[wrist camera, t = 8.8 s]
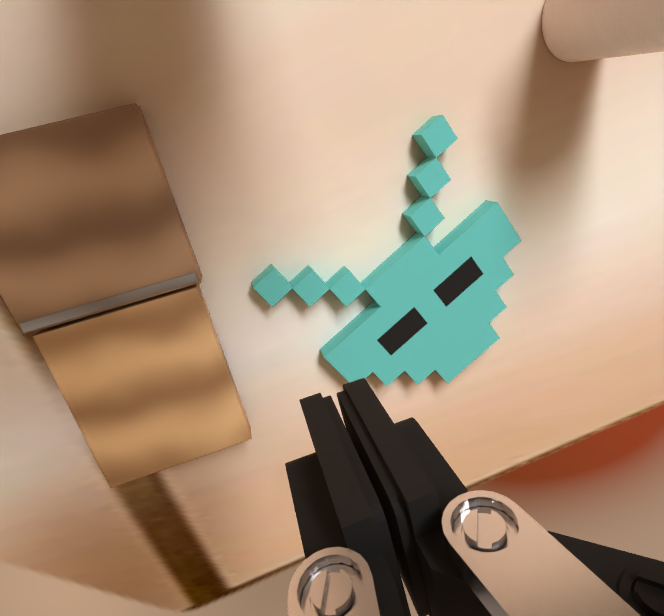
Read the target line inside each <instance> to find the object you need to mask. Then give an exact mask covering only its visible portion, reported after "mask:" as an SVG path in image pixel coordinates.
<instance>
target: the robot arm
mask: <svg viewBox="0 0 664 616" xmlns="http://www.w3.org/2000/svg"><path fill="white" fill-rule="evenodd" d="M343 389H344V391H342V392H339V393H337V397H338V401H339V405H340V408H341V412H342V416H343V419H344V423H345V426H344V423H343V421H342V419H341V417H340V415H339V413H338V410H337V408H336V406H335V404H334V402H333V400H332V397H331V396H327V397H324V398H323V397H322V395H321V393H318V394H315V395H312V396H309V397H306V398H303V399H300V403H301V407H302V410H303V413H304V416H305V419H306V423H307V426H308V429H309V432H310V435H311V438H312V442H313V445H314V448H315V451H316V452H315V453H313V454H310V455H307V456H304V457H302V458H299V459H296V460H293V461H291V462H288V463H285V465H286V471H287V475H288V480H289V484H290V489H291V494H292V498H293V503H294V507H295V512H296V517H297V521H298V526H299V530H300V535H301V540H302V544H303V549H304V553H305V558H306V559H305V560H304V561H303V562H302V564H301V565H300V566H299V567H298V568H297V570H296V571H295V573H294V575H293V578H292V580H291V582H290V586H289V592H288V616H411V614H410V610H409V606H408V603H407V598H406V595H405V591H404V587H403V583H402V579H403V581H404V583H405V586H406V588H407V590H408V592H409V595H410V597H411V600H412V602H413V604H414V606H415V609H416V611H417V613H418V615H419V616H426V615H429V616H664V562H662V561H658V560H655V559H651V558H647V557H643V556H640V555H636V554H632V553H628V552H625V551H621V550H617V549H614V548H610V547H606V546H602V545H598V544H595V543H591V542H588V541H584V540H580V539H576V538H573V537H569V536H565V535H561V534H558V533H554V532H550V531H546V530H545V529H544V528H543V527H542V526H540V525H539V524H538V523H537V522H536V521H535V520H534V519H533V518H531V516H529V515H528V514H527V513H526V512H525V511H524V510H523V509H522V508H521V507H519V506H518V505H517V504H516V503H514V502H513V501H512V500H510V499H509V498H507V497H506V496H503V495H501V494H498V493H495V492H491V491H482V490H479V491H470V492H468V490H467V489H466V488H465V486H464V485H463V484H462V482H461V481H460V479H459V478H458V477H457V475H456V474H455V473H454V471H453V470H452V469H451V467H450V466H449V464H448V463H447V462H446V460H445V459H444V458H443V456H442V455H441V454H440V452H439V451H438V450H437V448H436V447H435V445H434V444H433V443H432V441H431V440H430V439H429V437H428V436H427V435H426V433H425V432H424V431H423V429H422V428H421V426H420V425H419V424H418V422H417V421H416V420H415V419H414V418H412V417H411V418H409V419H406V420H403V421H400V422H398V423H395V424H394V423H393V421H392V420H391V418H390V417H389V415H388V414H387V412H386V411H385V409H384V407H383V406H382V404H381V403H380V401H379V400H378V398H377V397H376V395H375V394H374V392H373V390H372V389H371V387H370V386H369V384H368V383H367V381H366V380H365V378H361V379H358V380H355V381H353V382H350V383H347V384H344V385H343ZM345 427H346V428H345ZM400 574H401V575H400ZM401 577H402V579H401Z"/></svg>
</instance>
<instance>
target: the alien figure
mask: <svg viewBox="0 0 664 616" xmlns="http://www.w3.org/2000/svg"><path fill="white" fill-rule="evenodd" d="M412 136H413V137H414V139H415V140H416V142H417V143H418V145H419V146H420V148H421V149H422V151H423V152H424V154H425V155H426V157H427V158H426V159H424V160H423V161H422V162H421V163H420V164H419V165H418V166H417V167H416V168H415V169H413V170H412V171H411V172H410V173H409V174H408V175H407V176H408V178H409V179H410V181H411V182H412V183H413V185H414V186H415V188H416V189H417V191H418V192H419V193H420V195H421V197H420V198H419V199H417V200H416V201H415V202H414V203H413V204H412V205H411V206H410V207H409V208H407V209H406V210H405V211H404V212H403V213H402V214H403V216H404V217H405V218H406V220H407V221H408V222H409V224H410V225H411V226H412V228H413V229H414V230H415V232H416V233H415V234H414V235H413V236H412V237H411V238H410V239H408V240H407V241H406V242H405V243H404V244H403V245H402V246H401V247H400V248H399V249H397V250H396V251H395V252H394V253H393V254H392V255H391V256H390V257H389V258H387V259H386V260H385V261H384V262H383V263H382V264H381V265H380V266H379V267H377V268H376V269H375V270H374V271H373V272H372V273H371V274H370V275H369V276H367V277H366V278H365V279H364V280H363V281H362V282H361V283H360V282H359V281H358V280H357V279H356V278H355V277H354V275H353V274H352V273H351V272H350V271H349V270H348V269H347V268H346V267H345V266H343V267H342V268H341V269H340V270H339V271H338V272H337V273H336V274H335V275H333V276H332V277H331V278H330V279H329V280H328V281H327V282H326V283H325V282H324V281H323V280H322V279H321V278H320V277H319V276H318V275H317V274H316V273H315V272H314V270H313V269H312V268H311V267H310V266H309V265H308V266H307V267H306V268H305V269H303V270H302V271H301V272H300V273H299V274H298V275H297V276H296V277H295V278H294V279H293V280H291V281H290V282H288V281H287V280H286V279H285V278H284V277H283V276H282V275H281V274H280V273H279V272H278V271H277V269H276V268H275V267H274V266H273V265H272V264H271V265H270V266H269V267H268V268H266V269H265V270H264V271H263V272H262V273H261V274H260V275H259V276H258V277H257V278H256V279H254V280H253V281H252V286H253V288H254V289H255V290H256V291H257V292H258V293H259V294H260V295H261V296H262V297H263V298H264V299H265V300H266V301H267V302H268V303H269V304H270V305H271V306H274V305H275V304H276V303H277V302H278V301H279V300H280V299H281V298H282V297H283V296H285V295H286V294H287V293H288V292H289V291H290V290H291V289H293V290H294V291H295V292H296V293H297V294H298V295H299V296H300V297H301V298H302V299H303V300H304V301H305V302H306V303H307V304H308V305H309V306H311V305H312V304H314V303H315V302H316V301H317V300H318V299H319V298H320V297H321V296H322V295H324V294H325V293H326V292H327V291H328V290H329V289H330V290H331V291H332V292H333V293H334V294H335V295H336V296H337V297H338V298H339V300H340V301H341V302H342V303H343V304H344V305H345V306H346V307H347V306H348V305H349V304H350V303H351V302H352V301H353V300H354V299H355V298H357V297H358V296H359V295H360V294H361V293H362V292H363V291H364V290H366V292H367V293H368V294H369V295H370V296H371V297H372V298H373V300H374V301H373V302H372V303H371V304H370V305H369V306H368V307H367V308H365V309H364V310H363V311H362V312H361V313H360V314H359V315H358V316H356V317H355V318H354V319H353V320H352V321H351V322H350V323H349V324H348V325H346V326H345V327H344V328H343V329H342V330H341V331H340V332H339V333H338V334H336V335H335V336H334V337H333V338H332V339H331V340H330V341H329V342H327V343H326V344H325V345H324V346H323V347H322V348H321V349H320V351H321V353H322V355H323V357H324V358H325V359H326V360H327V361H328V362H329V363H330V364H331V365H332V366H333V367H334V368H335V369H336V370H337V371H338V372H339V373H340V374H341V375H342V376H343V377H344V378H345V379H346V380H347V381H348V382H349V383H350V382H353V381H355V380H358V379H361V378H366V377H368V376H369V375H370V374H371V373H372V372H373V373H374V374H375V375H376V376H377V377H378V378H379V379H380V380H381V381H382V382H383V383H384V384H385V385H386V386H388V385H389V384H390V383H391V382H392V381H394V380H395V379H396V378H397V377H398V376H399V375H400V374H401V373H403V372H404V371H405V372H406V373H407V374H408V375H409V376H410V377H411V378H412V379H413V380H414V381H415V382H416V384H417V385H418V384H419V383H421V382H422V381H423V380H424V379H425V378H426V377H427V376H429V375H430V374H431V373H432V372H433V371H434V370H435V371H436V372H437V373H438V374H439V375H440V376H441V377H442V378H443V379H444V380H445V381H446V382H447V383H449V382H450V381H451V380H452V379H453V378H454V377H456V376H457V375H458V374H459V373H460V372H461V371H463V370H464V369H465V368H466V367H467V366H468V365H469V364H471V363H472V362H473V361H474V360H475V359H476V358H477V357H479V356H480V355H481V354H482V353H483V352H484V351H485V350H487V349H488V348H489V347H490V346H491V345H492V344H493V343H495V342H496V341H497V340H498V339H499V338H500V337H499V336H498V335H497V333H496V332H495V330H494V329H493V328H492V326H491V325H490V324H489V322H490V321H491V320H492V319H494V318H495V317H496V316H497V315H498V314H499V313H500V312H502V311H503V310H504V309H505V308H506V305H505V304H504V302H503V301H502V300H501V298H500V297H499V295H498V294H497V292H496V290H497V289H498V288H499V287H500V286H501V285H503V284H504V283H505V282H506V281H507V280H508V279H509V278H510V277H512V276H513V275H514V274H513V273H512V271H511V270H510V268H509V267H508V265H507V264H506V262H505V260H504V259H503V256H504V255H506V254H507V253H508V252H509V251H510V250H511V249H512V248H513V247H515V246H516V245H517V244H518V243H519V242H520V241H521V239H520V238H519V236H518V235H517V233H516V231H515V230H514V228H513V226H512V225H511V223H510V222H509V220H508V218H507V217H506V215H505V214H504V212H503V210H502V209H501V207H500V206H499V204H498V203H497V202H492V201H487V200H486V201H485V202H484V203H483V204H481V205H480V206H479V207H478V208H477V209H476V210H475V211H474V212H473V213H471V214H470V215H469V216H468V217H467V218H466V219H465V220H464V221H462V222H461V223H460V224H459V225H458V226H457V227H456V228H455V229H454V230H452V231H451V232H450V233H449V234H448V235H447V236H446V237H445V238H444V239H442V240H441V241H440V242H439V243H438V244H437V245H436V246H435V247H432V245H431V244H430V243H429V241H428V240H427V239H426V237H425V236H426V235H427V234H428V233H429V232H430V231H431V230H432V229H433V228H435V227H436V226H437V225H438V224H439V223H440V222H441V221H442V220H443V219H445V218H444V217H443V215H442V214H441V212H440V211H439V210H438V208H437V207H436V205H435V204H434V202H433V201H432V200H431V197H432V196H433V195H434V194H436V193H437V192H438V191H439V190H440V189H441V188H442V187H443V186H444V185H446V184H447V183H448V182H449V181H450V180H451V179H450V177H449V176H448V174H447V173H446V171H445V170H444V168H443V167H442V165H441V164H440V162H439V161H438V159H437V157H438V156H439V155H440V154H441V153H442V152H443V151H444V150H446V149H447V148H448V147H449V146H450V145H451V144H452V143H453V142H454V141H455V140H457V139H458V138H457V137H456V135H455V134H454V132H453V130H452V129H451V127H450V126H449V124H448V122H447V121H446V119H445V118H444V116H443V115H439V116H433V117H432V118H430V119H429V120H428V121H427V122H426V123H425V124H424V125H423V126H422V127H421V128H420V129H418V130H417V131H416V132H415V133H414V134H413V135H412Z"/></svg>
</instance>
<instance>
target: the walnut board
mask: <svg viewBox="0 0 664 616" xmlns="http://www.w3.org/2000/svg"><path fill="white" fill-rule="evenodd" d="M201 279H202V274H201V271H200V269H199V266H198V263H197V260H196V258H195V255H194V252H193V250H192V247H191V244H190V242H189V239H188V236H187V233H186V231H185V228H184V225H183V223H182V220H181V217H180V214H179V212H178V209H177V206H176V204H175V201H174V198H173V195H172V193H171V190H170V187H169V185H168V182H167V179H166V176H165V174H164V171H163V168H162V166H161V163H160V160H159V157H158V155H157V152H156V149H155V147H154V144H153V141H152V139H151V136H150V133H149V130H148V128H147V125H146V122H145V120H144V117H143V114H142V111H141V109H140V106H138V105H136V104H131V105H126V106H122V107H118V108H114V109H109V110H105V111H101V112H97V113H92V114H88V115H84V116H80V117H75V118H71V119H67V120H63V121H58V122H54V123H50V124H46V125H41V126H37V127H33V128H29V129H24V130H20V131H16V132H12V133H7V134H3V135H0V294H1V296H2V298H3V300H4V302H5V303H6V305H7V307H8V309H9V310H10V312H11V314H12V316H13V317H14V319H15V321H16V323H17V324H18V326H19V328H20V330H21V332H22V333H23V335H25V334H29V333H32V332H35V331H39V330H42V329H46V328H49V327H52V326H56V325H59V324H62V323H66V322H69V321H72V320H76V319H79V318H83V317H86V316H89V315H93V314H96V313H99V312H103V311H106V310H109V309H113V308H116V307H120V306H123V305H126V304H130V303H133V302H136V301H140V300H143V299H147V298H150V297H153V296H157V295H160V294H163V293H167V292H170V291H173V290H177V289H180V288H184V287H187V286H190V285H194V284H197V283H200V282H201Z"/></svg>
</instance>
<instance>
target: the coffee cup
mask: <svg viewBox="0 0 664 616" xmlns="http://www.w3.org/2000/svg"><path fill="white" fill-rule="evenodd" d="M542 32H543V37H544V40H545V43H546V45H547V47H548V49H549V50H550V52H551V53H552V54H553V55H554V56H555V57H557V58H558V59H560V60H562V61H566V62H578V61H586V60H595V59H603V58H611V57H620V56H628V55H636V54H645V53H653V52H662V51H664V0H546V1H545V5H544V8H543V13H542Z"/></svg>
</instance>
